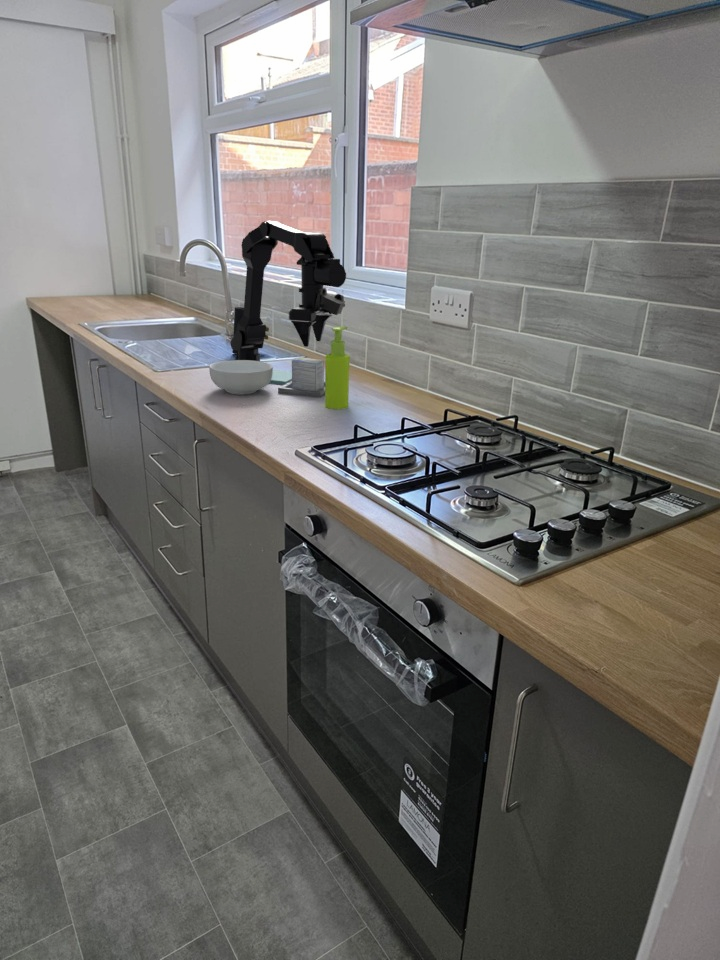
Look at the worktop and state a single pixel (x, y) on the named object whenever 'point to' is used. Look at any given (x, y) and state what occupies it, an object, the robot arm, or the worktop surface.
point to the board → (281, 377)
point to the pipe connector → (237, 316)
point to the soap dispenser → (337, 373)
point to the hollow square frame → (300, 391)
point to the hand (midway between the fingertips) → (312, 343)
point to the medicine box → (307, 374)
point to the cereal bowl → (241, 375)
